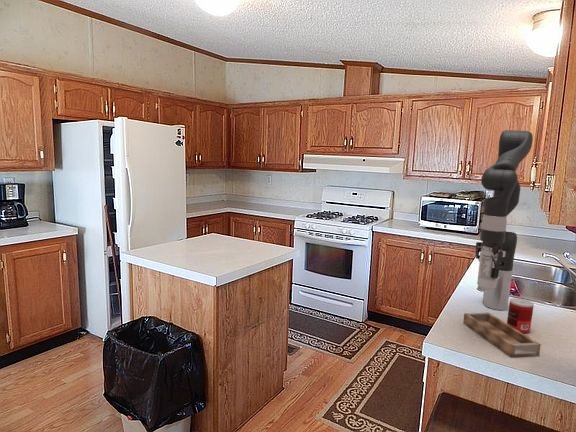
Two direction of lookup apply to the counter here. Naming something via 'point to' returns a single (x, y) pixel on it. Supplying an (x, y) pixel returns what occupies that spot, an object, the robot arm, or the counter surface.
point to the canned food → (520, 314)
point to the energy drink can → (486, 269)
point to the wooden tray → (502, 335)
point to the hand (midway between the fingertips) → (487, 275)
